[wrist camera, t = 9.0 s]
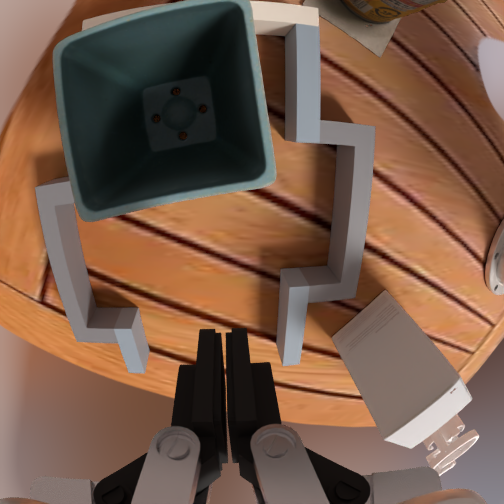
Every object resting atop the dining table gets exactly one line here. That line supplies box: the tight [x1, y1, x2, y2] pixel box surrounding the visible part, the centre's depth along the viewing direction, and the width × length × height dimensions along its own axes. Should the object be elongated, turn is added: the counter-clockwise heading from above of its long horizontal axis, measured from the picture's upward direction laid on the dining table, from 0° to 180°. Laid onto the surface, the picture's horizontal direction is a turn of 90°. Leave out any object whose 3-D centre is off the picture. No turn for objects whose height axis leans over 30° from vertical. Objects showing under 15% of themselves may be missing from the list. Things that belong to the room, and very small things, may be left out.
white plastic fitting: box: [423, 414, 479, 476], centre depth 27 cm, size 7×7×15 cm
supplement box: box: [332, 290, 472, 449], centre depth 22 cm, size 7×7×13 cm
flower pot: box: [53, 0, 276, 222], centre depth 14 cm, size 9×9×9 cm
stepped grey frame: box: [35, 1, 375, 373], centre depth 19 cm, size 23×28×3 cm
